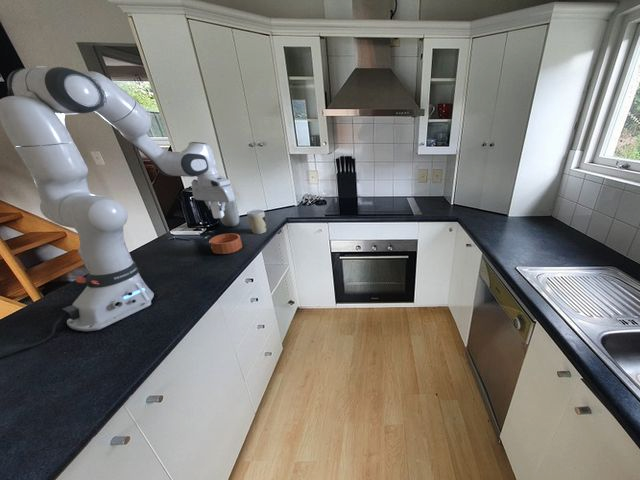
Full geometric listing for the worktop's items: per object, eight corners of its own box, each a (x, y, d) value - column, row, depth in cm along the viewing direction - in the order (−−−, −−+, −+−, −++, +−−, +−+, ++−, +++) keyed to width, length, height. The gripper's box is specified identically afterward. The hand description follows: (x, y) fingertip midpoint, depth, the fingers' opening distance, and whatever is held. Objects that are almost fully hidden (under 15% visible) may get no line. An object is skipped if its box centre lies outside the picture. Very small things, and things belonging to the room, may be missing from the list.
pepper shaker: (216, 216, 132) (210, 196, 128) (225, 215, 133) (219, 196, 129) (213, 218, 129) (207, 199, 125) (222, 218, 130) (217, 198, 125)
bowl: (229, 256, 131) (225, 245, 128) (205, 253, 134) (202, 242, 131) (248, 245, 143) (246, 234, 140) (226, 242, 146) (224, 232, 143)
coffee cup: (269, 232, 160) (266, 212, 155) (252, 235, 155) (248, 215, 150) (265, 227, 167) (262, 208, 161) (249, 230, 162) (245, 211, 157)
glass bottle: (219, 228, 165) (206, 181, 152) (229, 223, 174) (218, 178, 161) (234, 229, 164) (222, 182, 151) (244, 223, 173) (234, 178, 160)
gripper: (184, 180, 123) (193, 210, 129) (222, 183, 118) (229, 213, 124) (196, 177, 128) (204, 206, 134) (232, 180, 124) (239, 210, 130)
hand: (217, 210), depth 129 cm, fingers closed on pepper shaker, 5 cm apart
